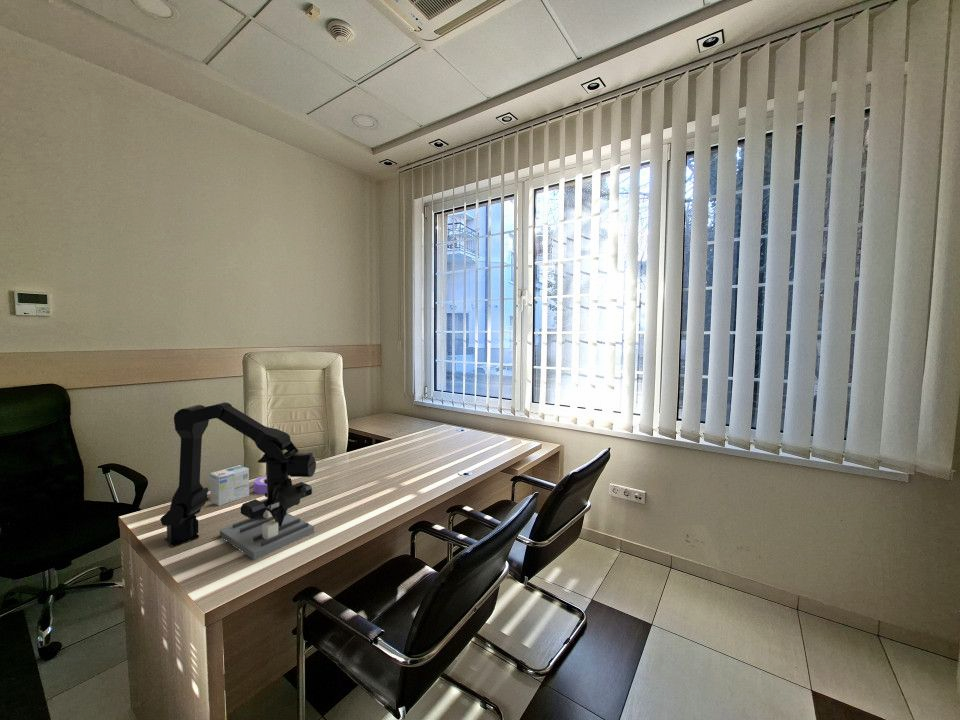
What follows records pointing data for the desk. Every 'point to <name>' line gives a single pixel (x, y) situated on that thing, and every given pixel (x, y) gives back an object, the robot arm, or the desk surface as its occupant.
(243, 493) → the light bulb box
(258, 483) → the masking tape
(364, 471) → the desk surface
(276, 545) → the switch board
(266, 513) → the tab
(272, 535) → the tab
